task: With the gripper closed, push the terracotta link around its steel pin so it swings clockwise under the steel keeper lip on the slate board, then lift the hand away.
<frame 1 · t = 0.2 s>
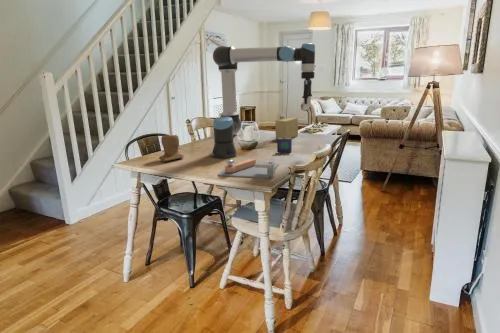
hand: (307, 108, 205), 28 cm above the table, tool pointing down, fingers open, 13 cm apart
decorative bird figurine: (231, 141, 257), on the table
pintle: (230, 173, 174), resting on base board
dark blue box: (284, 152, 218), on the table
base board: (249, 170, 180), on the table
brown boot: (170, 159, 206), on the table
keeper: (262, 175, 170), resting on base board
cheese: (288, 138, 266), on the table
link: (240, 165, 179), point 2 cm above the table, hinge at 65.0°
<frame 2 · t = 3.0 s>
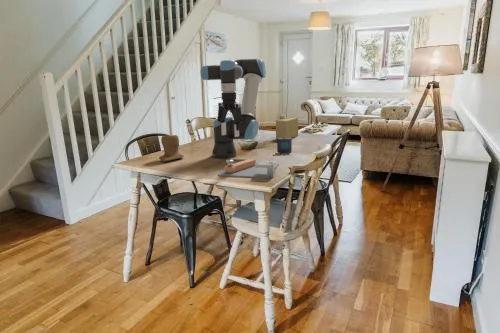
hand: (230, 135, 181), 17 cm above the table, tool pointing down, fingers open, 9 cm apart
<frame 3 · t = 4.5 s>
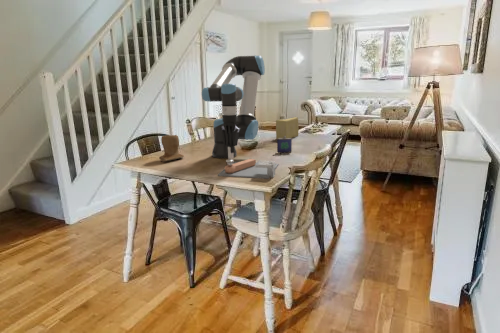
hand: (231, 158, 184), 5 cm above the table, tool pointing down, fingers closed
nothing on the table moved.
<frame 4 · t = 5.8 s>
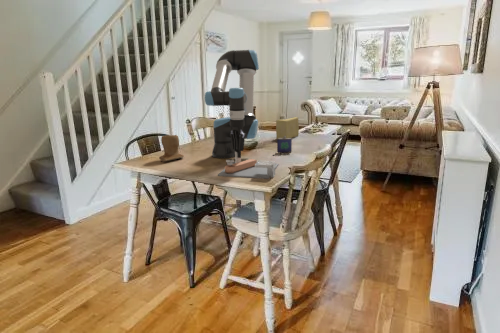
hand: (238, 163, 182), 3 cm above the table, tool pointing down, fingers closed
link: (240, 165, 179), point 2 cm above the table, hinge at 62.4°, touching gripper
everything else where it was.
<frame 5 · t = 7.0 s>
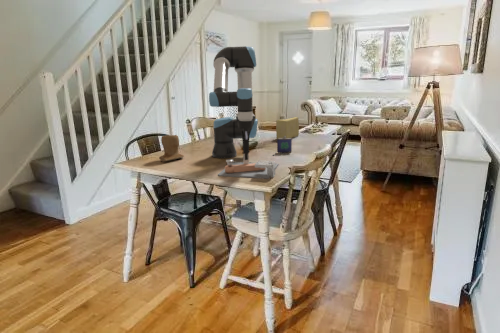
hand: (246, 165, 178), 3 cm above the table, tool pointing down, fingers closed
link: (244, 167, 175), point 2 cm above the table, hinge at 28.3°, touching gripper
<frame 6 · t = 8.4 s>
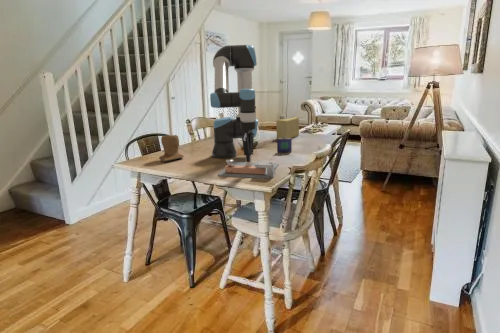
hand: (248, 167, 174), 3 cm above the table, tool pointing down, fingers closed
link: (244, 169, 172), point 2 cm above the table, hinge at 3.2°, touching gripper
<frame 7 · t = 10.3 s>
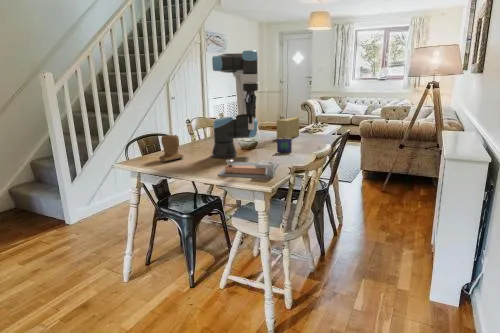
hand: (251, 129, 179), 21 cm above the table, tool pointing down, fingers closed
link: (244, 169, 172), point 2 cm above the table, hinge at 3.2°
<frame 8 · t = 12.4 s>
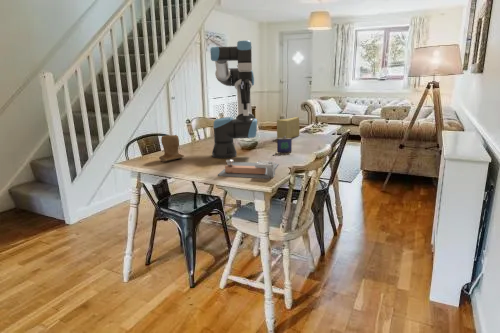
hand: (246, 115, 190), 26 cm above the table, tool pointing down, fingers closed
at the end: link at +3° (first picture: +65°) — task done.
